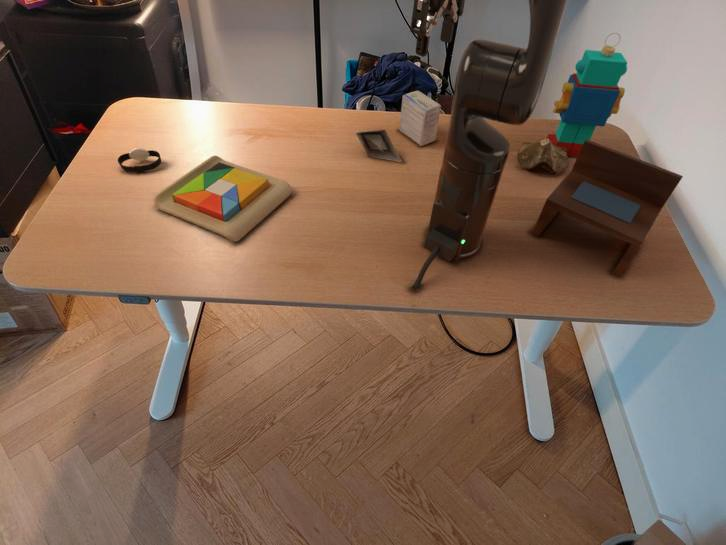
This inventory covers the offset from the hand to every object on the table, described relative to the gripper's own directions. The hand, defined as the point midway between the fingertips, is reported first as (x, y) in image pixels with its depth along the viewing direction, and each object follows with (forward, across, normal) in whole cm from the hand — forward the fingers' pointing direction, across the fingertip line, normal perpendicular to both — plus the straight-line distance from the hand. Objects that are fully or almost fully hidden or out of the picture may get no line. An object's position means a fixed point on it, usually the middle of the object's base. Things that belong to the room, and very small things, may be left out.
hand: (433, 48), depth 92 cm
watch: (+19, +48, -34) cm, 62 cm away
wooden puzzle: (+19, +44, -14) cm, 50 cm away
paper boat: (+20, +14, -2) cm, 24 cm away
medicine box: (+20, 0, -1) cm, 20 cm away
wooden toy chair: (+19, +7, +41) cm, 46 cm away
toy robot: (+20, -18, +27) cm, 38 cm away
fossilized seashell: (+20, -8, +25) cm, 33 cm away
